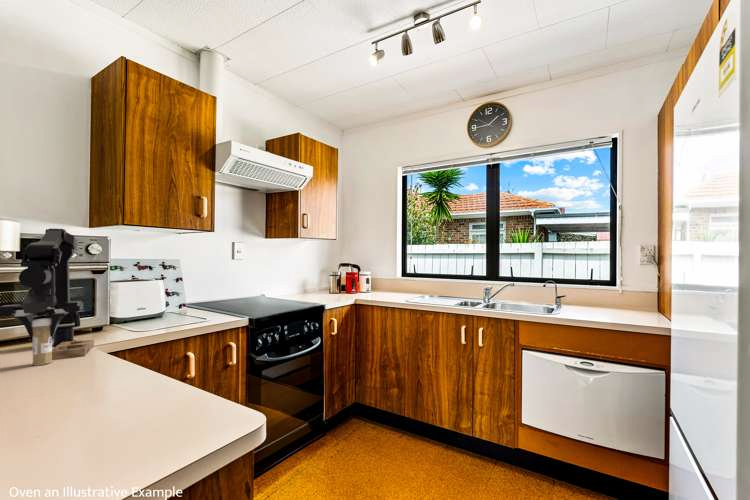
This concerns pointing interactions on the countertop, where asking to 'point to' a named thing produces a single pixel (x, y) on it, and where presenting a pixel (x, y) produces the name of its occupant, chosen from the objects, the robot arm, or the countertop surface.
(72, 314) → the robot arm
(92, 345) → the socket board
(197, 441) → the countertop surface
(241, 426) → the countertop surface
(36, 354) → the sprinkles bottle
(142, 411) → the countertop surface
